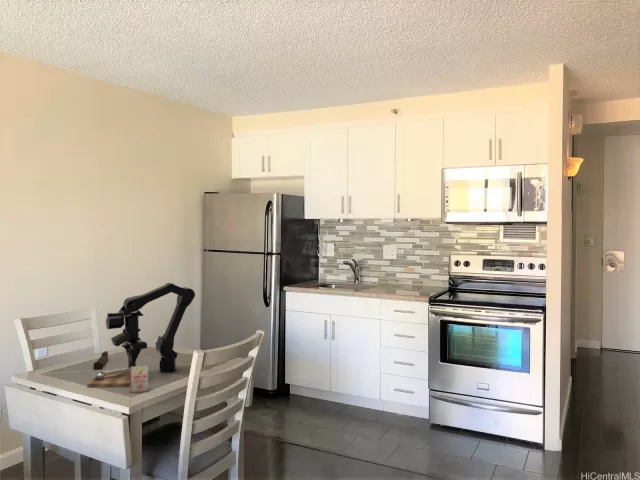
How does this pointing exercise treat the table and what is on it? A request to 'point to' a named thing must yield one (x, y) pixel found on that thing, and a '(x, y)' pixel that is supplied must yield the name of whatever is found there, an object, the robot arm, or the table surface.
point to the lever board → (111, 380)
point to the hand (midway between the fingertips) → (132, 361)
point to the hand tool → (101, 361)
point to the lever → (105, 373)
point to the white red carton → (139, 379)
